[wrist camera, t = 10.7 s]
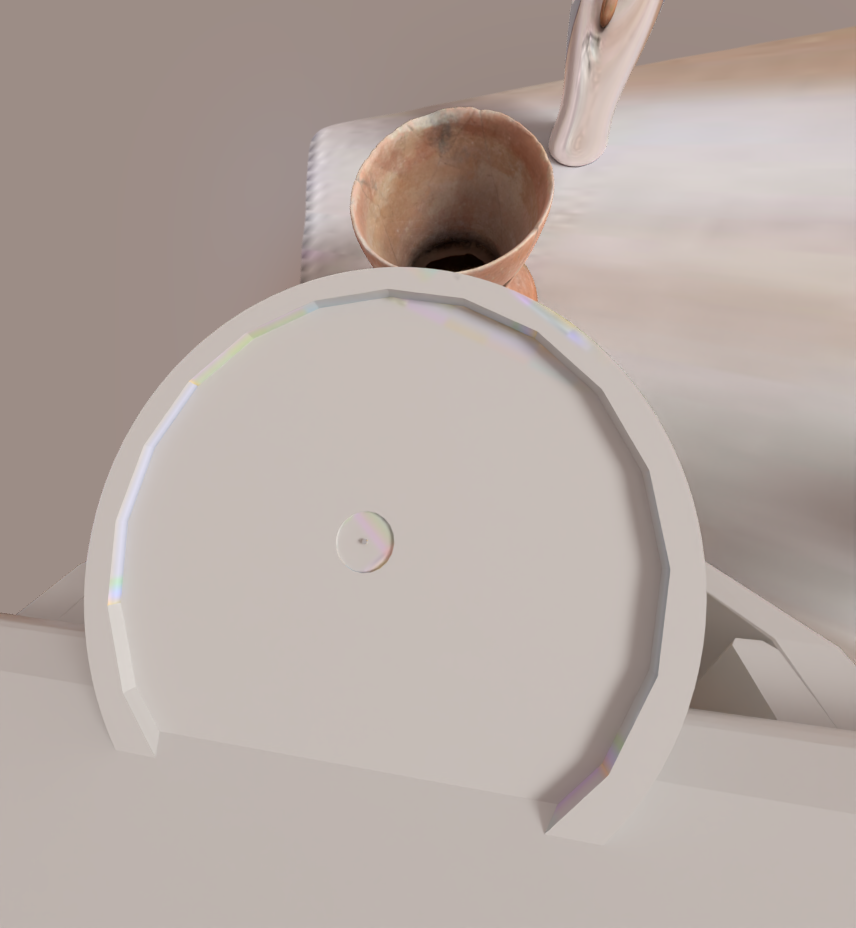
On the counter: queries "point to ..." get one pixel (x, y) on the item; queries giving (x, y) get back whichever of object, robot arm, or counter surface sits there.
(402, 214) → the ceramic jug
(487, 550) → the bottle
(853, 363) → the counter surface
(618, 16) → the beer glass
